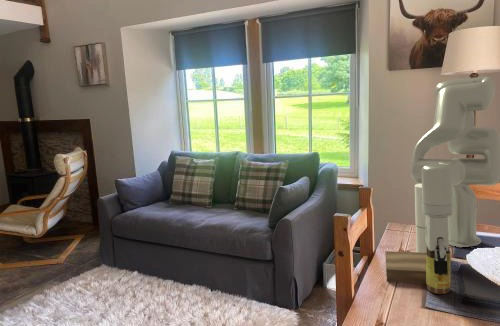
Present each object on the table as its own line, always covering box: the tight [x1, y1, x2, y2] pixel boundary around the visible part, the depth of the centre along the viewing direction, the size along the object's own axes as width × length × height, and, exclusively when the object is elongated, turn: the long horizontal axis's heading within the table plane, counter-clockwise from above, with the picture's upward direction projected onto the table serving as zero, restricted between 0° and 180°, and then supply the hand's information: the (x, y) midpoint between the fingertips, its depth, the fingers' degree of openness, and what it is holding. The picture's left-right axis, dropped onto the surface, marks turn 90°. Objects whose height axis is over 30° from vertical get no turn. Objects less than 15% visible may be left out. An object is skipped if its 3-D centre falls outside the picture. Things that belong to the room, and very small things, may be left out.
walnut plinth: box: [384, 250, 427, 285], centre depth 119 cm, size 14×14×4 cm
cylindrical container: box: [414, 183, 427, 253], centre depth 129 cm, size 7×7×25 cm
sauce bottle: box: [426, 241, 452, 295], centre depth 106 cm, size 7×6×20 cm
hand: (438, 265), depth 107 cm, fingers open, 9 cm apart
